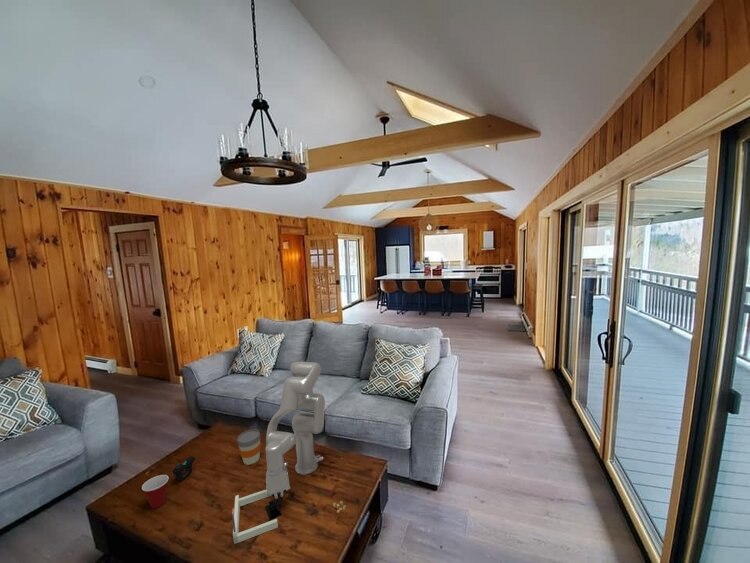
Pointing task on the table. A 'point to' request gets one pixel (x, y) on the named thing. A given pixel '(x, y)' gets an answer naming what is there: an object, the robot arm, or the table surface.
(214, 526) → the table surface
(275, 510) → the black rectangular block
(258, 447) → the reusable coffee cup
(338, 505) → the dice set
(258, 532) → the frame
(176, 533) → the table surface
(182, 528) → the table surface
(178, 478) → the controller
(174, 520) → the table surface
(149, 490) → the plastic cup
